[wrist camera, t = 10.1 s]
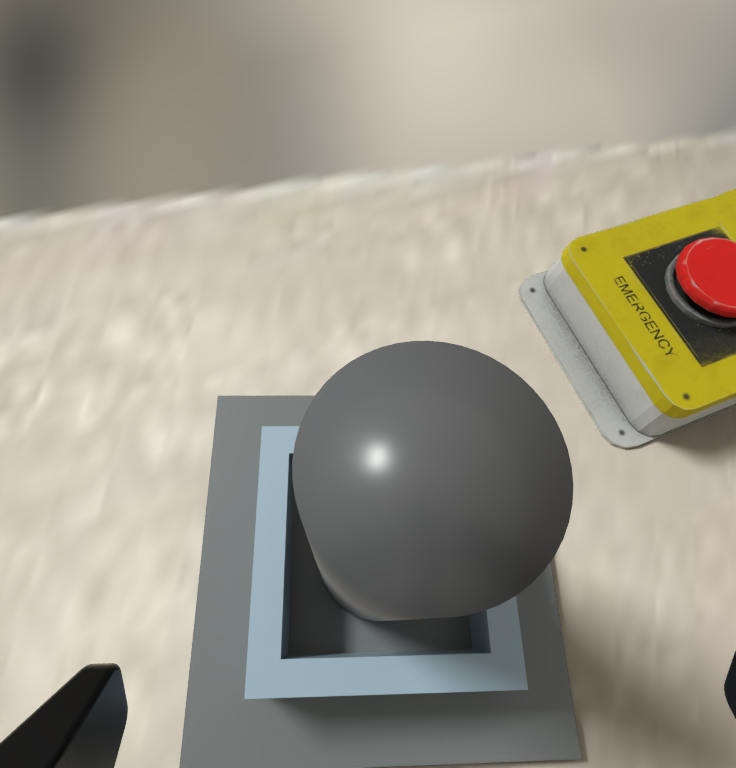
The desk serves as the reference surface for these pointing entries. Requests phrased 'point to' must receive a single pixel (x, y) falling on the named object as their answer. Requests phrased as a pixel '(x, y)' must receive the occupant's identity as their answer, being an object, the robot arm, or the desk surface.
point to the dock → (347, 642)
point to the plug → (430, 483)
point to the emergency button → (646, 319)
